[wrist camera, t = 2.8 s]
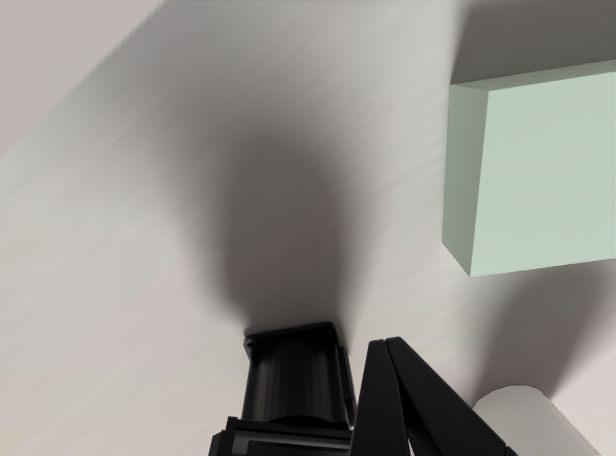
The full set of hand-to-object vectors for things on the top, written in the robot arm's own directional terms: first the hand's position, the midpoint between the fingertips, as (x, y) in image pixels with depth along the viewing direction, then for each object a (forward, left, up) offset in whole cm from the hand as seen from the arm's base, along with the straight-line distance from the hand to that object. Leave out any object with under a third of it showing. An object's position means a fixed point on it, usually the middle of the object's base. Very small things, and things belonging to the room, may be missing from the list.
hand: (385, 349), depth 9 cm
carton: (+11, 0, -11) cm, 16 cm away
